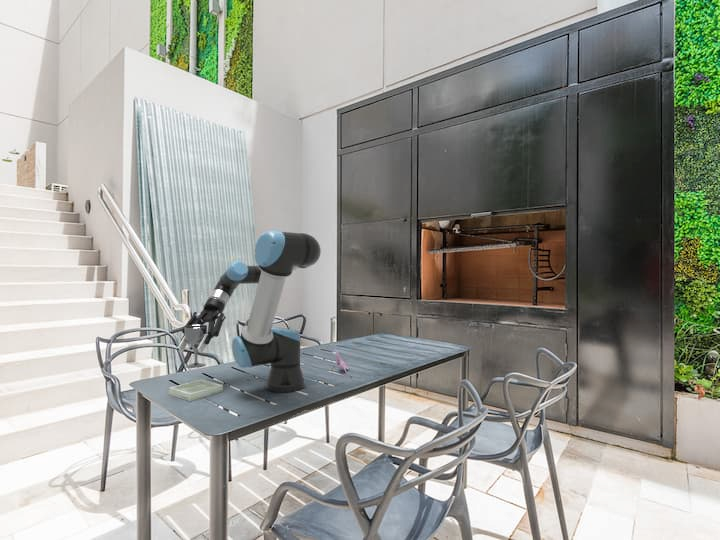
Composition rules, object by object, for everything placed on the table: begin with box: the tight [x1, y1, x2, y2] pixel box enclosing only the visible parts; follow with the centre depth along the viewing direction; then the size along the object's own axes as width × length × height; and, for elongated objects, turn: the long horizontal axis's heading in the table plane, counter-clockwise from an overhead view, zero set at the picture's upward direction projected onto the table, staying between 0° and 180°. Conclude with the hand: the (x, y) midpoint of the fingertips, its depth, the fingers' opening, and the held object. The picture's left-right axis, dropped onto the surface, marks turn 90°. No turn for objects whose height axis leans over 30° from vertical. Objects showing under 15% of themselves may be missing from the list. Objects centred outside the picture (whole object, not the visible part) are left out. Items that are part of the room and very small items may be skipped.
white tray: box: [168, 379, 224, 402], centre depth 148 cm, size 14×14×2 cm
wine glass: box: [184, 324, 208, 369], centre depth 148 cm, size 8×8×15 cm
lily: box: [330, 348, 350, 373], centre depth 179 cm, size 12×12×10 cm
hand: (189, 350), depth 145 cm, fingers closed on wine glass, 8 cm apart
